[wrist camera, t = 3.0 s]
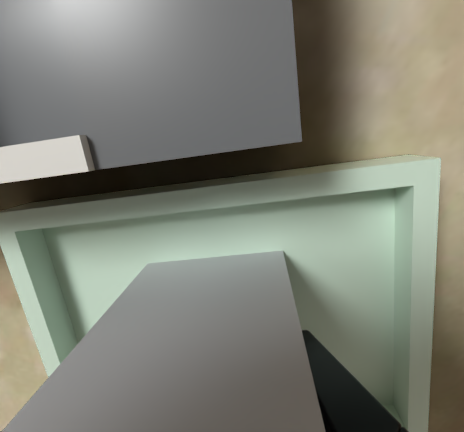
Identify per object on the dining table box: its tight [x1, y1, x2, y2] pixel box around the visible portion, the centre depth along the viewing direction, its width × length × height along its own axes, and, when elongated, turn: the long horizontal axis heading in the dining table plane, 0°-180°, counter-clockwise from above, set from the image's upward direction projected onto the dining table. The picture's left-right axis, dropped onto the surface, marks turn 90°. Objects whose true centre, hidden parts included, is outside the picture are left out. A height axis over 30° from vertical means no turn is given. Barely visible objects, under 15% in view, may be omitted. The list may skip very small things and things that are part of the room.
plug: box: [2, 251, 325, 432], centre depth 6 cm, size 4×4×7 cm
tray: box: [0, 154, 441, 432], centre depth 9 cm, size 12×9×2 cm
